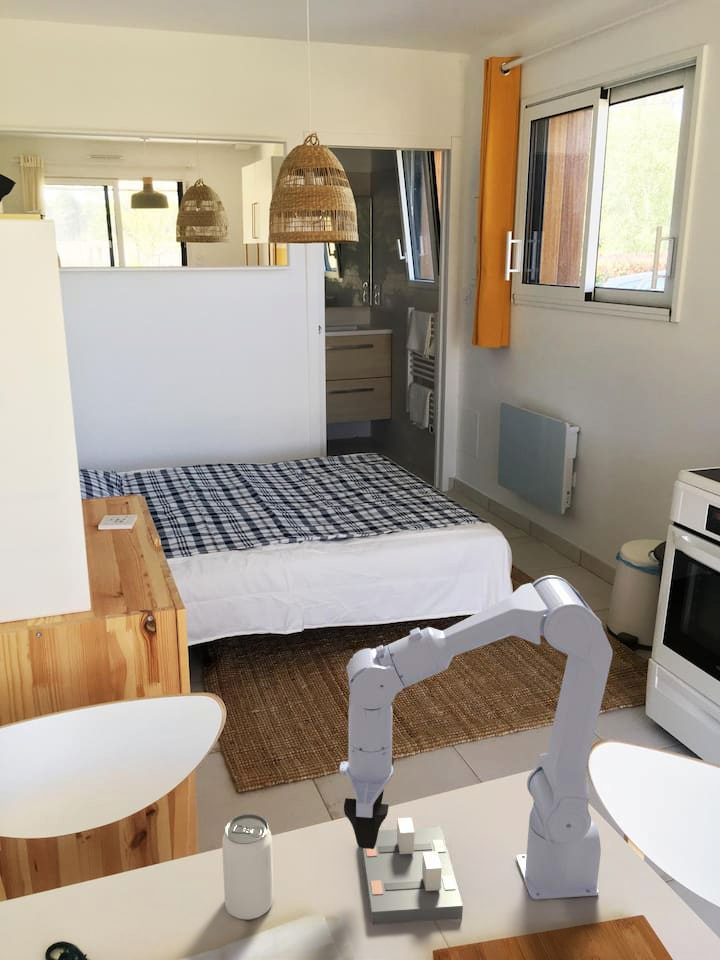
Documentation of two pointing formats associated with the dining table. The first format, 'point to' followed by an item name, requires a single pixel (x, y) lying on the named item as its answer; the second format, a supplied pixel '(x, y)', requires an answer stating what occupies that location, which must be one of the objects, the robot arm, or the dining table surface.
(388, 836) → the panel
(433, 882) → the block
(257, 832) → the can
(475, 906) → the dining table surface
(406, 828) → the block
